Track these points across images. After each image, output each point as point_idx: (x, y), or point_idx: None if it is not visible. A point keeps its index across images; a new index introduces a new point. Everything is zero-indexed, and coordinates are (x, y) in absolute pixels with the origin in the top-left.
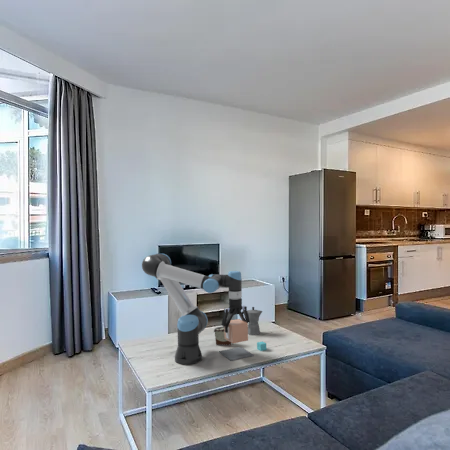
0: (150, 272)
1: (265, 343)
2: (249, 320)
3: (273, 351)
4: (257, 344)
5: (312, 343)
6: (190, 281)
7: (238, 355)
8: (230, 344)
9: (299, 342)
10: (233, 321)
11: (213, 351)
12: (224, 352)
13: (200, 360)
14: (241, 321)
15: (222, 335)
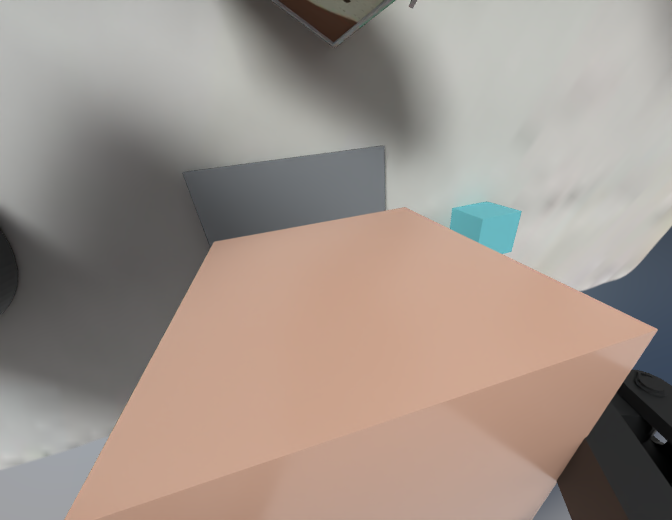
0: None
1: (506, 252)
2: (644, 442)
3: None
4: (472, 221)
5: (664, 227)
6: None
7: None
8: (331, 38)
9: (653, 195)
10: (394, 503)
11: (134, 135)
12: (228, 217)
13: (6, 306)
14: (523, 486)
15: None
